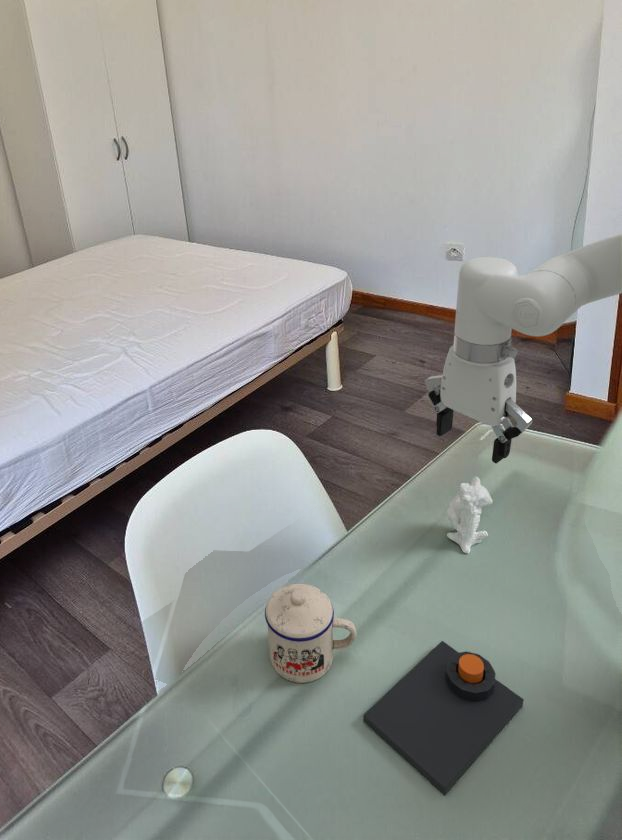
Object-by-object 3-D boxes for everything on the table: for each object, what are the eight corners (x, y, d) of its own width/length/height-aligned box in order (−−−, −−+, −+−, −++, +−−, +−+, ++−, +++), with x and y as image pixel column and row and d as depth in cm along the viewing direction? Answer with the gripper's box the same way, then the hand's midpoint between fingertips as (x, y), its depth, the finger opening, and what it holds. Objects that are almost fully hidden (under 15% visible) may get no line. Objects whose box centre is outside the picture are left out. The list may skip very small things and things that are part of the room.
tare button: (467, 659, 89) (468, 649, 88) (487, 674, 87) (488, 664, 86) (453, 672, 87) (454, 663, 87) (473, 688, 85) (474, 678, 85)
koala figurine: (477, 563, 107) (483, 502, 102) (435, 547, 111) (439, 488, 106) (493, 530, 113) (500, 471, 108) (453, 517, 117) (458, 459, 112)
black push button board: (443, 645, 94) (444, 630, 93) (524, 704, 86) (527, 688, 84) (363, 722, 85) (363, 706, 84) (444, 796, 77) (446, 779, 75)
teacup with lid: (264, 683, 91) (259, 620, 86) (272, 627, 99) (267, 566, 94) (356, 690, 89) (356, 626, 84) (356, 632, 97) (356, 571, 92)
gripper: (553, 355, 93) (537, 459, 100) (445, 319, 105) (438, 413, 112) (523, 375, 88) (508, 482, 96) (414, 335, 101) (409, 432, 108)
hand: (470, 445), depth 104 cm, fingers open, 9 cm apart
